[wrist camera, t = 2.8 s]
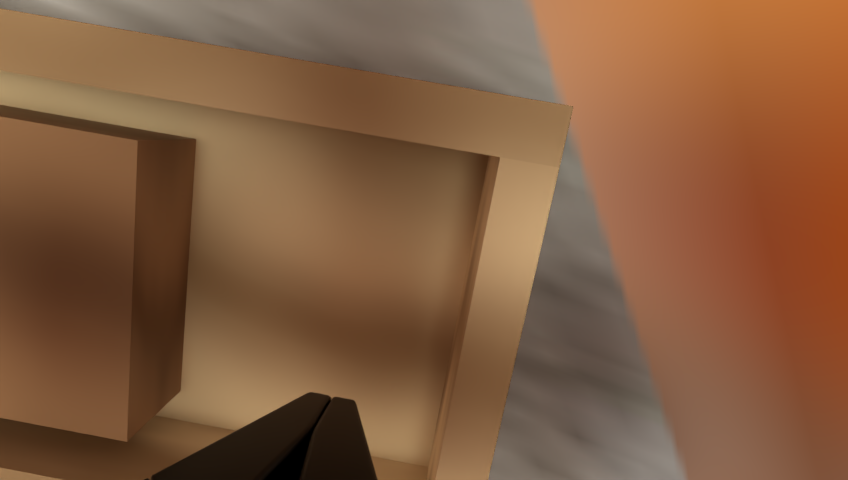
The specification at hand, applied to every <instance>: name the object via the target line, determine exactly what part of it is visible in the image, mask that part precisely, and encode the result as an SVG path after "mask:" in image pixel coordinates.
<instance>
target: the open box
mask: <svg viewBox="0 0 848 480" xmlns="http://www.w3.org/2000/svg"><path fill="white" fill-rule="evenodd" d="M0 105H5V106H11V107H17V108H23V109H28V110H34V111H40V112H45V113H51V114H57V115H62V116H68V117H74V118H80V119H85V120H91V121H97V122H102V123H108V124H114V125H120V126H125V127H131V128H137V129H142V130H148V131H154V132H159V133H165V134H171V135H177V136H182V137H188V138H194V139H196V151H195V167H194V183H193V199H192V215H191V231H190V247H189V263H188V280H187V296H186V312H185V328H184V344H183V360H182V376H181V391H180V392H179V393H178V394H177V395H176V396H175V397H174V398H173V399H172V400H171V401H169V402H168V403H167V404H166V405H165V406H164V407H163V408H162V409H161V410H160V411H159V412H158V413H157V414H156V415H155V416H154V417H153V418H152V419H150V420H149V421H148V422H147V423H146V424H145V425H144V426H143V427H142V428H141V429H140V430H139V431H138V432H137V433H136V434H135V435H134V436H133V437H131V438H130V439H129V440H128V441H127V442H125V441H120V440H115V439H110V438H104V437H99V436H94V435H89V434H83V433H78V432H73V431H68V430H62V429H57V428H52V427H46V426H41V425H36V424H31V423H25V422H20V421H15V420H10V419H4V418H0V480H144V479H146V478H149V479H150V478H151V476H152V475H153V474H155V473H157V472H159V471H161V470H163V469H165V468H167V467H169V466H170V465H172V464H174V463H176V462H178V461H180V460H182V459H184V458H186V457H187V456H189V455H191V454H193V453H195V452H197V451H199V450H201V449H202V448H204V447H206V446H208V445H210V444H212V443H214V442H216V441H218V440H219V439H221V438H223V437H225V436H227V435H229V434H231V433H233V432H235V431H236V430H238V429H240V428H242V427H244V426H246V425H248V424H250V423H252V422H253V421H255V420H257V419H259V418H261V417H263V416H265V415H267V414H268V413H270V412H272V411H274V410H276V409H278V408H280V407H282V406H284V405H285V404H287V403H289V402H291V401H293V400H295V399H297V398H299V397H301V396H302V395H304V394H306V393H309V392H314V393H320V394H325V395H329V396H330V397H331V399H332V398H333V397H341V398H347V399H352V400H354V401H355V402H356V404H357V408H358V412H359V415H360V419H361V422H362V426H363V429H364V433H365V436H366V440H367V444H368V447H369V451H370V454H371V458H372V461H373V465H374V468H375V472H376V476H377V479H378V480H488V477H489V473H490V468H491V464H492V459H493V455H494V451H495V446H496V442H497V438H498V433H499V429H500V425H501V420H502V416H503V411H504V407H505V403H506V398H507V394H508V390H509V385H510V381H511V377H512V372H513V368H514V363H515V359H516V355H517V350H518V346H519V342H520V337H521V333H522V329H523V324H524V320H525V315H526V311H527V307H528V302H529V298H530V294H531V289H532V285H533V281H534V276H535V272H536V267H537V263H538V259H539V254H540V250H541V246H542V241H543V237H544V233H545V228H546V224H547V219H548V215H549V211H550V206H551V202H552V198H553V193H554V189H555V185H556V180H557V176H558V171H559V167H560V163H561V158H562V154H563V150H564V145H565V141H566V137H567V132H568V128H569V124H570V119H571V115H572V110H573V106H568V105H562V104H556V103H550V102H544V101H538V100H533V99H527V98H521V97H515V96H509V95H503V94H497V93H492V92H486V91H480V90H474V89H468V88H462V87H456V86H451V85H445V84H439V83H433V82H427V81H421V80H415V79H410V78H404V77H398V76H392V75H386V74H380V73H374V72H369V71H363V70H357V69H351V68H345V67H339V66H333V65H328V64H322V63H316V62H310V61H304V60H298V59H292V58H287V57H281V56H275V55H269V54H263V53H257V52H252V51H246V50H240V49H234V48H228V47H222V46H216V45H211V44H205V43H199V42H193V41H187V40H181V39H175V38H170V37H164V36H158V35H152V34H146V33H140V32H134V31H129V30H123V29H117V28H111V27H105V26H99V25H93V24H88V23H82V22H76V21H70V20H64V19H58V18H52V17H47V16H41V15H35V14H29V13H23V12H17V11H11V10H6V9H0Z"/></svg>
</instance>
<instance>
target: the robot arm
mask: <svg viewBox="0 0 848 480" xmlns="http://www.w3.org/2000/svg"><path fill="white" fill-rule="evenodd" d="M144 480H378V479H377V476H376V472H375V468H374V465H373V461H372V458H371V454H370V451H369V447H368V444H367V440H366V436H365V433H364V429H363V426H362V422H361V419H360V415H359V412H358V408H357V404H356V402H355V401H354V400H352V399H347V398H341V397H333V398H332V399H331V397H330V396H329V395H325V394H320V393H314V392H309V393H306V394H304V395H302V396H301V397H299V398H297V399H295V400H293V401H291V402H289V403H287V404H285V405H284V406H282V407H280V408H278V409H276V410H274V411H272V412H270V413H268V414H267V415H265V416H263V417H261V418H259V419H257V420H255V421H253V422H252V423H250V424H248V425H246V426H244V427H242V428H240V429H238V430H236V431H235V432H233V433H231V434H229V435H227V436H225V437H223V438H221V439H219V440H218V441H216V442H214V443H212V444H210V445H208V446H206V447H204V448H202V449H201V450H199V451H197V452H195V453H193V454H191V455H189V456H187V457H186V458H184V459H182V460H180V461H178V462H176V463H174V464H172V465H170V466H169V467H167V468H165V469H163V470H161V471H159V472H157V473H155V474H153V475H152V476H151V478H150V479H149V478H146V479H144Z"/></svg>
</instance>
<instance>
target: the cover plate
mask: <svg viewBox="0 0 848 480" xmlns="http://www.w3.org/2000/svg"><path fill="white" fill-rule="evenodd" d="M195 151H196V139H194V138H188V137H182V136H177V135H171V134H165V133H159V132H154V131H148V130H142V129H137V128H131V127H125V126H120V125H114V124H108V123H102V122H97V121H91V120H85V119H80V118H74V117H68V116H62V115H57V114H51V113H45V112H40V111H34V110H28V109H23V108H17V107H11V106H5V105H0V418H4V419H10V420H15V421H20V422H25V423H31V424H36V425H41V426H46V427H52V428H57V429H62V430H68V431H73V432H78V433H83V434H89V435H94V436H99V437H104V438H110V439H115V440H120V441H125V442H127V441H128V440H129V439H130V438H131V437H133V436H134V435H135V434H136V433H137V432H138V431H139V430H140V429H141V428H142V427H143V426H144V425H145V424H146V423H147V422H148V421H149V420H150V419H152V418H153V417H154V416H155V415H156V414H157V413H158V412H159V411H160V410H161V409H162V408H163V407H164V406H165V405H166V404H167V403H168V402H169V401H171V400H172V399H173V398H174V397H175V396H176V395H177V394H178V393H179V392H180V391H181V376H182V360H183V344H184V328H185V312H186V296H187V280H188V263H189V247H190V231H191V215H192V199H193V183H194V167H195Z"/></svg>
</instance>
